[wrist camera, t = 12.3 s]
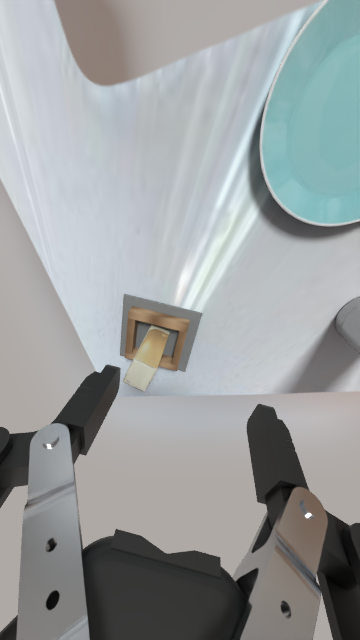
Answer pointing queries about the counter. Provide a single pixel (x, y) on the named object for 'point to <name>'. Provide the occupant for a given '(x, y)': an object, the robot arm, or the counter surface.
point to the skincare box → (147, 358)
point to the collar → (160, 320)
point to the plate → (317, 120)
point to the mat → (173, 335)
